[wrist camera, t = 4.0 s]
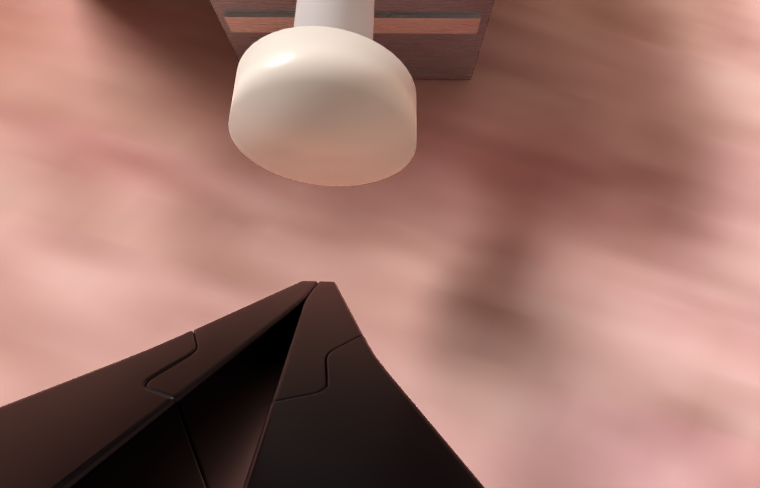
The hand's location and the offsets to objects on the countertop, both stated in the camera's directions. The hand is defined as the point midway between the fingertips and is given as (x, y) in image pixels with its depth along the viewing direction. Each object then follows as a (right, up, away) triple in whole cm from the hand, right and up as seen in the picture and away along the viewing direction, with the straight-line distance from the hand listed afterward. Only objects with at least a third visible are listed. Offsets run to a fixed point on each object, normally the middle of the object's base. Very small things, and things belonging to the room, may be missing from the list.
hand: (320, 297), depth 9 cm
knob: (0, +10, +5) cm, 11 cm away
